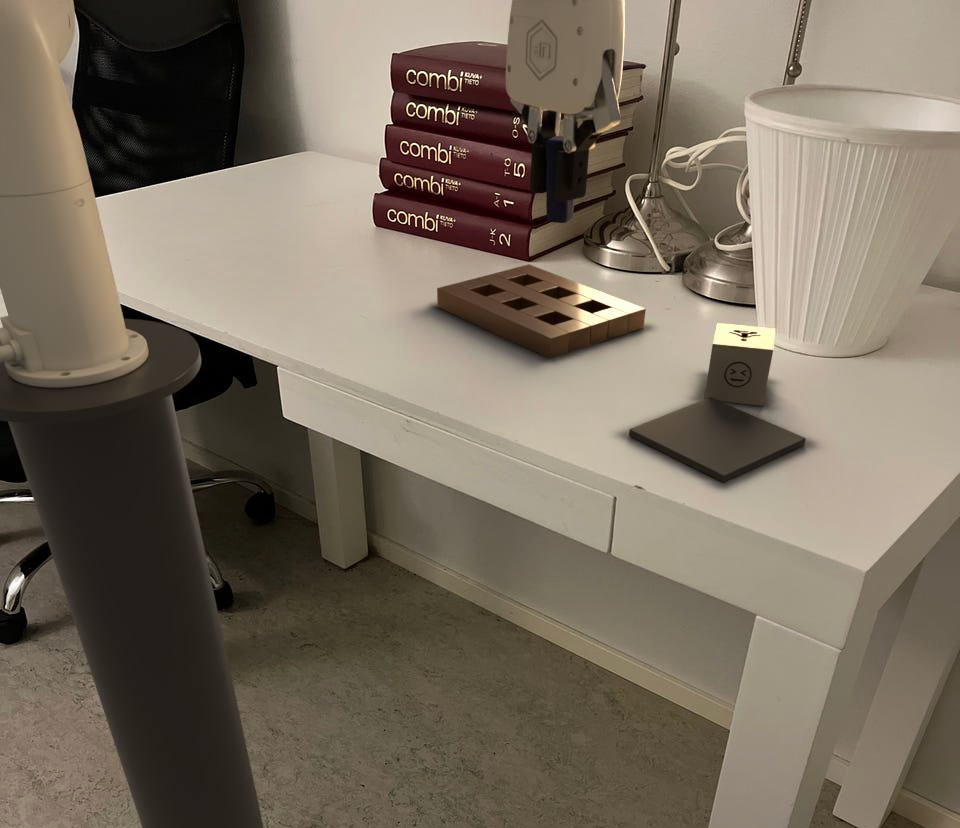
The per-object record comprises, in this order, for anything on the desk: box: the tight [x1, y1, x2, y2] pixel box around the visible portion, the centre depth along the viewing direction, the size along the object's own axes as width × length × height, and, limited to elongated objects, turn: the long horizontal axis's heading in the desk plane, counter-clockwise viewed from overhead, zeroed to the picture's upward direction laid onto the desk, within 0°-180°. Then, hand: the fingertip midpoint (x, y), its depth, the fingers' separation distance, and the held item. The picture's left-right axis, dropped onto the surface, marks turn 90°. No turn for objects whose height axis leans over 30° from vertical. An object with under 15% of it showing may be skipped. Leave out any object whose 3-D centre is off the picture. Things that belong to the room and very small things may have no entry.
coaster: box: [628, 397, 807, 483], centre depth 78 cm, size 10×10×1 cm
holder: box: [436, 264, 646, 359], centre depth 100 cm, size 13×18×2 cm
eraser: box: [545, 135, 575, 224], centre depth 86 cm, size 2×2×7 cm
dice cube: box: [703, 322, 777, 407], centre depth 84 cm, size 5×5×5 cm
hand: (557, 192), depth 87 cm, fingers closed on eraser, 2 cm apart
